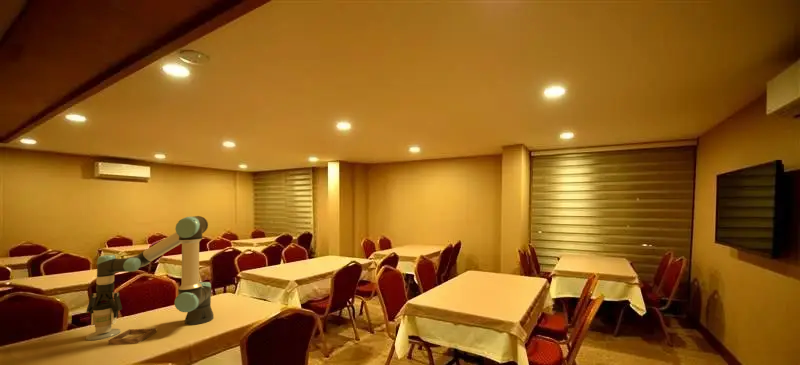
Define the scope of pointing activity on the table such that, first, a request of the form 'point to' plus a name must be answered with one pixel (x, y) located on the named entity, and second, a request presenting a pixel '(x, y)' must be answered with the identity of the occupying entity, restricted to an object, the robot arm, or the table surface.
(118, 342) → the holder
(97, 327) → the coffee cup
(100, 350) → the table surface
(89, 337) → the coaster
